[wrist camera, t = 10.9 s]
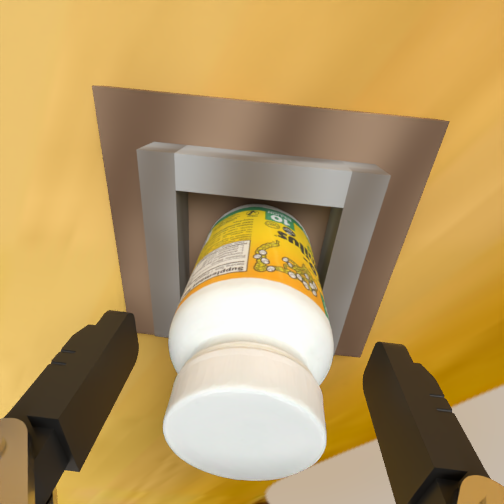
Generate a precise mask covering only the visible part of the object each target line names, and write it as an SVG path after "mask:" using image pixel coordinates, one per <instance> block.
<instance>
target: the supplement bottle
mask: <svg viewBox="0 0 504 504" xmlns="http://www.w3.org/2000/svg"><path fill="white" fill-rule="evenodd" d="M168 345H169V353H170V358H171V361H172V363H173V366H174V368H175V370H176V372H177V373H178V375H177V376H176V378H175V381H174V384H173V389H172V393H171V397H170V400H169V403H168V406H167V410H166V413H165V416H164V421H163V434H164V437H165V439H166V442H167V443H168V445H169V447H170V448H171V449H172V450H173V452H174V453H175V454H176V455H177V456H179V457H180V458H181V459H182V460H184V461H185V462H187V463H188V464H190V465H192V466H193V467H196V468H197V469H200V470H202V471H205V472H207V473H210V474H213V475H217V476H221V477H225V478H231V479H236V480H250V481H254V480H257V481H260V480H274V479H280V478H284V477H288V476H291V475H294V474H297V473H299V472H301V471H304V470H305V469H307V468H309V467H310V466H312V465H313V464H315V463H316V462H317V461H318V459H319V458H320V457H321V455H322V454H323V452H324V450H325V447H326V425H325V416H324V408H323V395H322V391H321V389H320V387H319V386H320V384H321V383H322V382H323V380H324V379H325V377H326V375H327V374H328V372H329V370H330V366H331V363H332V359H333V353H334V341H333V335H332V329H331V325H330V321H329V317H328V313H327V309H326V305H325V301H324V296H323V292H322V289H321V285H320V282H319V277H318V273H317V271H316V265H315V261H314V257H313V253H312V249H311V244H310V241H309V238H308V236H307V234H306V232H305V230H304V228H303V227H302V225H301V224H300V223H299V221H297V220H296V219H295V218H294V217H293V216H292V215H290V214H288V213H286V212H284V211H282V210H280V209H278V208H275V207H272V206H269V205H265V204H247V205H243V206H240V207H237V208H234V209H232V210H230V211H229V212H227V213H225V214H224V215H223V216H222V217H221V218H220V219H219V220H218V221H217V222H216V223H215V224H214V225H213V227H212V228H211V230H210V232H209V234H208V236H207V238H206V241H205V243H204V245H203V248H202V250H201V253H200V255H199V257H198V260H197V262H196V265H195V267H194V269H193V272H192V274H191V276H190V279H189V281H188V283H187V286H186V288H185V290H184V293H183V295H182V297H181V300H180V302H179V305H178V307H177V310H176V312H175V315H174V317H173V320H172V323H171V327H170V331H169V340H168Z"/></svg>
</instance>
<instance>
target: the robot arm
mask: <svg viewBox="0 0 504 504" xmlns="http://www.w3.org/2000/svg"><path fill="white" fill-rule="evenodd" d="M138 351H139V344H138V337H137V331H136V324H135V317H134V314H133V313H129V312H120V311H111V310H109V311H107V312H106V313H105V314H104V315H103V316H102V318H101V319H100V320H99V322H98V323H97V324H96V325H87V326H86V327H84V328H83V329H81V330H80V331H79V332H77V333H76V334H74V335H73V336H72V337H71V338H70V339H69V341H68V342H67V343H66V344H65V345H64V347H63V348H62V349H61V352H59V353H58V354H57V355H56V356H55V357H54V359H53V360H52V362H51V364H49V365H48V366H47V367H46V368H45V370H44V371H43V372H42V373H41V374H40V376H39V377H38V378H37V379H36V380H35V382H34V383H33V384H32V385H31V386H30V388H29V389H28V390H27V391H26V393H25V394H24V395H23V396H22V397H21V399H20V400H19V401H18V402H17V403H16V405H15V406H14V407H13V408H12V409H11V411H10V412H9V413H8V414H7V415H6V416H5V417H4V418H2V419H0V504H58V502H57V489H56V485H57V483H58V481H59V479H60V477H61V476H62V474H63V472H64V470H68V471H76V472H80V470H81V468H82V466H83V464H84V462H85V460H86V458H87V456H88V454H89V452H90V450H91V448H92V446H93V445H94V443H95V441H96V439H97V437H98V435H99V433H100V431H101V429H102V427H103V425H104V423H105V421H106V419H107V417H108V415H109V413H110V412H111V410H112V408H113V406H114V404H115V402H116V400H117V398H118V396H119V394H120V392H121V390H122V388H123V386H124V384H125V382H126V380H127V379H128V377H129V375H130V373H131V371H132V369H133V367H134V365H135V363H136V360H137V356H138ZM363 390H364V395H365V398H366V401H367V405H368V408H369V412H370V415H371V419H372V422H373V426H374V429H375V433H376V436H377V439H378V443H379V446H380V450H381V453H382V457H383V460H384V463H385V467H386V470H387V474H388V477H389V481H390V484H391V488H392V491H393V495H394V498H395V502H396V504H504V487H503V486H502V485H500V484H499V483H497V482H495V481H493V480H492V479H491V478H490V477H489V475H488V474H487V472H486V471H485V469H484V467H483V465H482V463H481V461H480V460H479V458H478V456H477V454H476V452H475V451H474V449H473V447H472V445H471V443H470V441H469V440H468V438H467V436H466V434H465V432H464V431H463V429H462V427H461V425H460V423H459V422H458V420H457V418H456V416H455V414H454V413H452V409H451V407H450V405H449V403H448V401H447V400H446V399H445V398H444V394H443V392H442V390H441V389H440V387H439V385H438V383H437V381H436V380H435V378H434V377H433V376H432V375H431V374H430V373H429V372H428V371H427V370H426V369H425V368H424V367H423V366H422V365H421V364H419V363H413V361H412V359H411V357H410V355H409V353H408V351H407V349H406V347H405V346H404V345H402V344H394V343H385V342H377V343H376V344H375V346H374V349H373V351H372V354H371V356H370V359H369V361H368V364H367V366H366V369H365V371H364V375H363Z"/></svg>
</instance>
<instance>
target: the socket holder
mask: <svg viewBox="0 0 504 504" xmlns="http://www.w3.org/2000/svg"><path fill="white" fill-rule="evenodd" d="M92 89H93V96H94V102H95V109H96V115H97V122H98V128H99V135H100V141H101V148H102V154H103V161H104V167H105V174H106V180H107V187H108V193H109V200H110V206H111V213H112V219H113V226H114V232H115V239H116V245H117V252H118V259H119V265H120V272H121V278H122V285H123V291H124V298H125V304H126V311H127V312H129V313H133V314H134V317H135V324H136V331H137V333H143V334H152V335H155V336H159V337H168V338H169V331H170V327H171V323H172V320H173V317H174V315H175V312H176V310H177V307H178V305H179V302H180V300H181V297H182V295H183V293H184V290H185V288H186V286H187V283H188V281H189V279H190V276H191V274H192V272H193V269H194V267H195V265H196V262H197V260H198V257H199V255H200V253H201V250H202V248H203V245H204V243H205V241H206V238H207V236H208V234H209V232H210V230H211V228H212V227H213V225H214V224H215V223H216V222H217V221H218V220H219V219H220V218H221V217H222V216H223V215H224V214H225V213H227V212H229V211H230V210H232V209H234V208H237V207H240V206H243V205H247V204H265V205H269V206H272V207H275V208H278V209H280V210H282V211H284V212H286V213H288V214H290V215H292V216H293V217H294V218H295V219H296V220H297V221H299V223H300V224H301V225H302V227H303V228H304V230H305V232H306V234H307V236H308V238H309V241H310V244H311V249H312V253H313V257H314V261H315V265H316V271H317V273H318V277H319V282H320V285H321V289H322V292H323V296H324V301H325V305H326V309H327V313H328V317H329V321H330V325H331V329H332V335H333V341H334V353H333V356H334V355H343V356H352V357H360V356H361V354H362V351H363V349H364V346H365V343H366V341H367V338H368V335H369V333H370V330H371V327H372V325H373V322H374V320H375V317H376V314H377V312H378V309H379V306H380V304H381V301H382V298H383V296H384V293H385V290H386V288H387V285H388V283H389V280H390V277H391V275H392V272H393V269H394V267H395V264H396V261H397V259H398V256H399V254H400V251H401V248H402V246H403V243H404V240H405V238H406V235H407V232H408V230H409V227H410V224H411V222H412V219H413V217H414V214H415V211H416V209H417V206H418V203H419V201H420V198H421V195H422V193H423V190H424V188H425V185H426V182H427V180H428V177H429V174H430V172H431V169H432V166H433V164H434V161H435V159H436V156H437V153H438V151H439V148H440V145H441V143H442V140H443V137H444V135H445V132H446V129H447V127H448V124H449V122H450V121H444V120H438V119H428V118H418V117H408V116H398V115H388V114H378V113H368V112H358V111H348V110H338V109H328V108H318V107H309V106H299V105H289V104H279V103H269V102H259V101H249V100H239V99H229V98H219V97H209V96H199V95H189V94H179V93H169V92H159V91H149V90H139V89H129V88H119V87H109V86H92Z"/></svg>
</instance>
